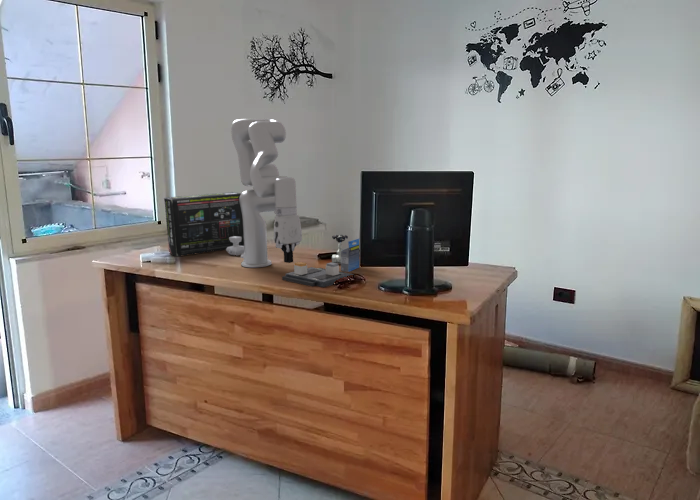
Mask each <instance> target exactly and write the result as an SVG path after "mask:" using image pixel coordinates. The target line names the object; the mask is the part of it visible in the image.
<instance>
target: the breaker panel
mask: <svg viewBox="0 0 700 500" xmlns="http://www.w3.org/2000/svg"><path fill="white" fill-rule="evenodd" d="M319 268H320V267H317V268H316V267H307V274H304V275H299V274H294V271H291V272H287V273H285V275H284V276H287V277H292V278H296V279H301V280H306V281H310V282H315V286H316V287H320V288H327V287H330V286H333V284H334V282H335V281H336V280H338V279H340V278H343V277H347V276H350V275H349V274H350V273H349V274H344V273H345V272H344V273H339V274H338V275H334V276H333V275H328V274H326V270H324V269H325V268H323V269H319ZM334 285H335V284H334ZM315 286H314V287H315Z"/></svg>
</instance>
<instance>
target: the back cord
mask: <svg viewBox="0 0 700 500" xmlns="http://www.w3.org/2000/svg"><path fill="white" fill-rule="evenodd" d="M318 268H319V269H324V270H326V268H324V267H318ZM339 273H344V274H349V275H354V276H355V274H353V273H350V272H344V271H339Z"/></svg>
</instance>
